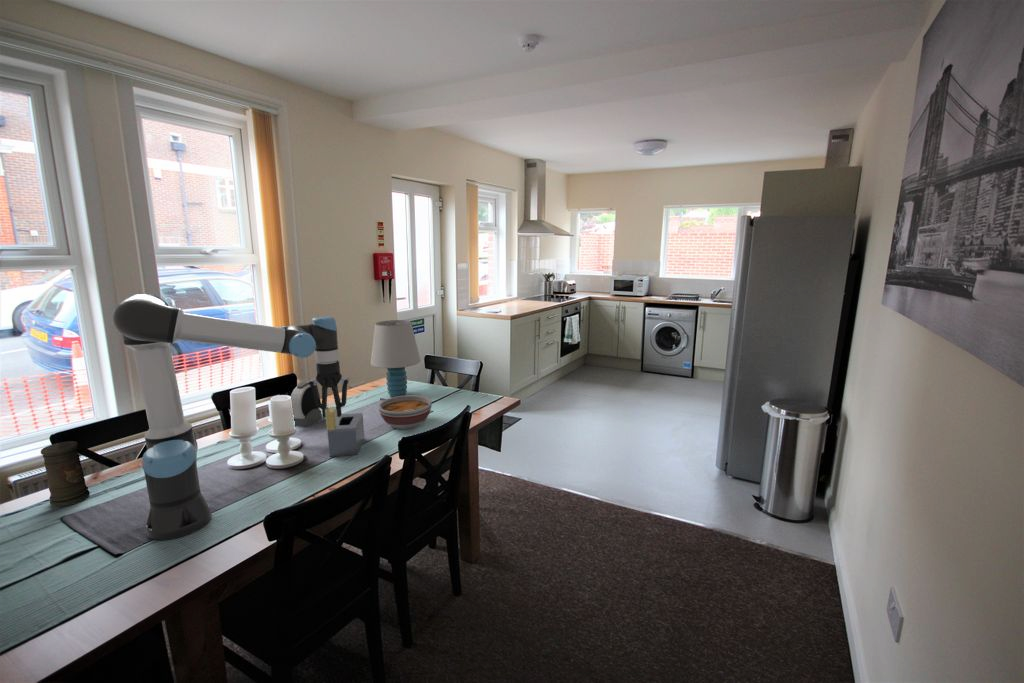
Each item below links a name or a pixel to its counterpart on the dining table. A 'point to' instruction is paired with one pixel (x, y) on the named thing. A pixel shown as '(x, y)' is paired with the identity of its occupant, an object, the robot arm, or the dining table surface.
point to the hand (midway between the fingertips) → (332, 425)
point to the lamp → (394, 353)
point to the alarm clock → (305, 406)
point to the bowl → (405, 411)
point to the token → (330, 419)
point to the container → (64, 474)
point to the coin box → (347, 435)
